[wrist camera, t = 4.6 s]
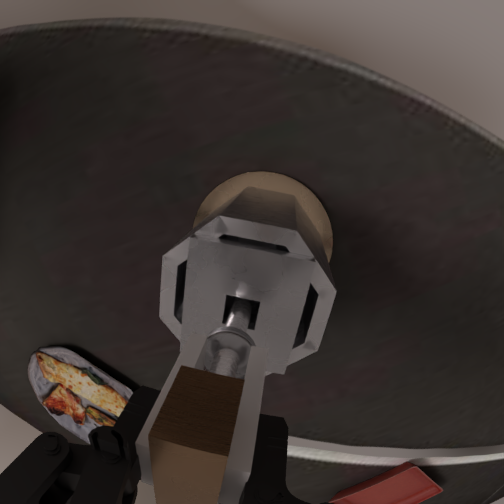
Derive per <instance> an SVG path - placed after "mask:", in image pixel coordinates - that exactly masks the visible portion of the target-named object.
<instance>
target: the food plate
mask: <svg viewBox="0 0 504 504" xmlns="http://www.w3.org/2000/svg"><path fill="white" fill-rule="evenodd" d="M76 354H77V353H75V352H73V351H71V350H69V349H67V348H64V347H61V346H51V347H40V348H39V349H38V350H37V351H34V352H33V353H32V355H31V358H30V359H29V364H28V367H27V369H28V370H27V371H28V377H29V381H30V383H31V386H32V388H33V390H34V393H35V395H36V397H37V399H38V400H39V402H40V403H41V404H42V405H43V406H44V407H45V408H46V410H47V411H48V412H49V414H50V415H52V416H53V417H54V418H55V419H56V420H57V421H58V423H59V424H60V425H62V427H65V429H67V430H68V431H70V432H72V433H73V434H74V435H77V436H78V437H79V438H80V439H83V440H84V441H86V442H87V443H89V444H90V441H89V438H88V434H89V433H90V432H91V430H93V428H94V429H95V428H96V426H97V425H98V426H101V425H102V426H105V425H106V426H114V424H115V422H116V421H117V419H116V418H115V417H114V416H115V415H117V416H118V417H119V416H120V414H121V412H122V411H123V409H124V407H125V405H126V404H127V403H128V400H129V399H130V397H131V395H132V394H133V392H132V391H131V389H130V388H128V387H126V386H124V385H123V384H122V383H121V382H118V381H117V380H115V379H114V378H112V377H111V376H109V375H108V374H107V373H105V372H104V371H102V370H101V369H99V368H98V367H96V366H94V365H92V364H91V363H90V362H88V361H87V360H84V358H82V357H80V356H79V355H78V354H77V355H76ZM108 411H109V412H111V413H109V412H108ZM112 413H113V414H112ZM114 414H115V415H114ZM89 422H91V423H89ZM88 423H89V424H88ZM94 423H95V424H97V425H96V426H95V425H94Z"/></svg>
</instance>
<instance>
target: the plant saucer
mask: <svg viewBox="0 0 504 504" xmlns="http://www.w3.org/2000/svg"><path fill="white" fill-rule="evenodd" d="M442 491H443V489H442V488H441V487H440V486H439V485H437V484H436V483H435V482H434V481H433V480H432V479H431V478H429V477H428V476H427V475H426V474H425V473H424V472H423V471H422V470H421V469H419V468H418V467H417V466H416V465H414V464H412V463H409V462H406V463H403V464H401V465H399V466H397V467H395V468H393V469H391V470H389V471H387V472H384V473H382V474H380V475H378V476H376V477H373V478H371V479H369V480H367V481H364V482H362V483H359V484H357V485H354V486H352V487H349V488H347V489H344V490H342V491H340V492H338V493H337V494H336V495H335V496H334V497H333V498H332V499H331V500H330V501H329V502H328V503H334V504H418V503H420V502H422V501H424V500H426V499H428V498H430V497H432V496H434V495H436V494H438V493H440V492H442Z"/></svg>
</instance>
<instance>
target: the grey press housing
mask: <svg viewBox="0 0 504 504" xmlns="http://www.w3.org/2000/svg"><path fill="white" fill-rule="evenodd" d="M226 234H227V235H232V236H237V237H242V238H247V239H252V240H257V241H262V242H267V243H272V244H277V245H282V246H286V247H287V249H288V250H289V252H286V251H281V250H276V249H271V248H266V247H261V246H256V245H251V244H246V243H241V242H236V241H231V240H226V239H221V238H222V237H223V236H225V235H226ZM332 249H333V235H332V228H331V224H330V220H329V218H328V215H327V213H326V211H325V209H324V207H323V205H322V204H321V202H320V201H319V199H318V198H317V197H316V196H315V195H314V194H313V193H312V191H311V190H310V189H308V188H307V187H306V186H305V185H303V184H302V183H300V182H299V181H297V180H295V179H293V178H291V177H289V176H286V175H283V174H280V173H276V172H269V171H254V172H247V173H243V174H240V175H237V176H235V177H232V178H230V179H228V180H226V181H225V182H223V183H222V184H220V185H219V186H217V187H216V188H215V189H214V190H213V191H212V192H211V193H210V194H209V195H208V196H207V197H206V198H205V200H204V201H203V203H202V204H201V206H200V208H199V210H198V212H197V214H196V217H195V220H194V225H193V229H192V230H191V231H190V232H189V233H187V234H186V235H185V236H184V237H183V238H182V239H181V240H180V241H179V242H177V243H176V244H175V245H174V246H173V247H172V248H171V249H170V250H169V251H168V252H167V253H165V254H164V255H163V259H162V274H161V291H160V314H159V317H160V319H161V320H162V321H163V322H164V323H165V324H166V326H167V327H168V328H169V329H170V330H171V332H172V333H173V334H174V335H175V336H176V337H177V339H178V340H179V341H180V352H181V351H182V349H183V347H184V345H185V343H186V341H187V339H188V337H189V335H190V334H191V332H193V333H197V334H201V335H205V336H207V335H208V334H209V333H210V332H211V331H212V330H214V329H216V328H219V327H225V325H226V322H227V319H228V317H229V314H230V311H231V308H230V307H228V306H227V305H226V304H227V297H228V295H230V296H235V297H240V298H245V299H249V300H254V301H259V302H260V306H259V311H258V314H251V316H250V320H249V324H248V328H247V332H246V333H247V334H248V335H249V336H250V337H251V338H252V339H253V341H254V343H255V345H256V347H261V348H266V349H268V355H267V363H266V371H265V376H266V375H269V374H271V373H278V374H285V370H286V367H287V366H288V365H290V364H292V363H294V362H296V361H298V360H300V359H302V358H304V357H306V356H308V355H310V354H312V353H314V352H316V351H318V348H319V345H320V343H321V340H322V337H323V334H324V330H325V327H326V324H327V321H328V318H329V315H330V312H331V309H332V305H333V302H334V299H335V296H336V292H337V290H336V287H335V283H334V280H333V276H332V273H331V270H330V266H329V262H330V259H331V254H332ZM239 379H244V376H243V377H240V378H239Z"/></svg>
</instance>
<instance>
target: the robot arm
mask: <svg viewBox="0 0 504 504" xmlns="http://www.w3.org/2000/svg"><path fill="white" fill-rule="evenodd" d="M206 344H207V336H205V335H201V334H197V333H193V332H191V334H190V335H189V337H188V339H187V341H186V343H185V345H184V347H183V349H182V351H181V353H180V355H179V357H178V359H177V361H176V363H175V365H174V367H173V369H172V371H171V373H170V375H169V377H168V378H167V380H166V382H165V384H164V386H163V388H162V390H161V391H159V390H156V389H153V388H149V387H146V386H142V387H140V388H139V389H137V390H136V391H134V392H133V394H132V395H131V397H130V399H129V400H128V403H127V404H126V405H125V407H124V409H123V411H122V412H121V414H120V416H119V417H118V419H117V421H116V422H115V424H114V426H106V425H105V426H99V427H96V428H95V429H93V430H91V432H90V433H89V434H88V438H89V441H90V444H91V445H80V444H73V443H68V441H67V439H66V438H65V437H64V436H62V435H61V434H58V433H56V432H46V433H43V434H41V435H40V436H38V437H37V438H36V439H35V440H34V441H33V442H32V443H31V444H30V445H29V446H28V447H27V448H26V449H25V450H24V451H23V452H22V453H21V454H20V455H19V456H18V457H17V458H16V459H15V460H14V461H13V462H12V463H11V464H10V465H9V466H8V467H7V468H6V469H5V470H4V471H3V472H2V473H1V474H0V504H134V503H135V500H136V496H137V484H138V482H139V480H140V477H141V479H142V482H144V483H147V484H150V485H153V486H154V484H153V477H152V469H151V460H150V451H149V441H148V434H149V432H150V430H151V428H152V426H153V424H154V422H155V419H156V417H157V415H158V413H159V411H160V409H161V407H162V405H163V403H164V400H165V398H166V396H167V394H168V392H169V390H170V388H171V386H172V384H173V382H174V379H175V377H176V375H177V373H178V371H179V369H180V367H181V365H183V366H187V367H191V368H195V369H199V370H204V361H205V353H206ZM267 355H268V349H266V348H261V347H256V346H251V350H250V355H249V360H248V364H247V369H246V373H245V378H244V380H245V382H244V386H243V391H242V396H241V401H240V405H239V410H238V415H237V419H236V424H235V429H234V433H233V438H232V442H231V447H230V452H229V456H228V460H227V464H226V469H225V473H224V477H223V481H222V485H221V489H220V493H219V497H218V501H217V503H222V504H310V503H307V502H304V501H302V500H300V499H298V498H296V497H294V496H293V495H292V494H291V493H290V492H289V490H288V489H287V486H286V481H285V478H286V462H287V445H288V441H287V440H288V426H287V424H286V422H285V420H284V418H282V417H276V416H270V415H264V414H260V407H261V400H262V393H263V385H264V378H265V371H266V363H267ZM321 504H334V503H327V502H325V503H321Z"/></svg>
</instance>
